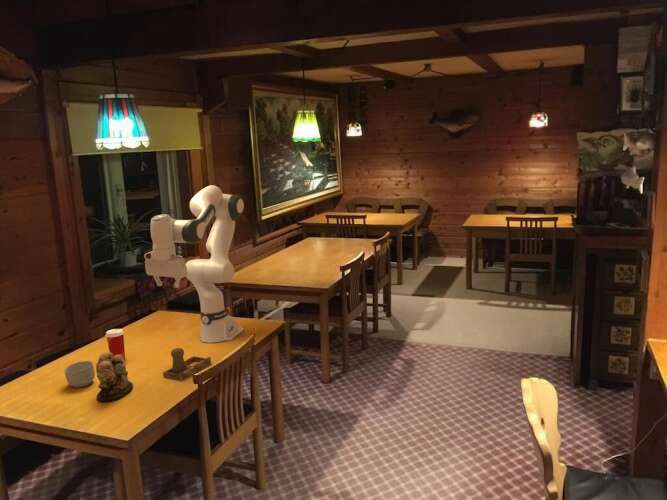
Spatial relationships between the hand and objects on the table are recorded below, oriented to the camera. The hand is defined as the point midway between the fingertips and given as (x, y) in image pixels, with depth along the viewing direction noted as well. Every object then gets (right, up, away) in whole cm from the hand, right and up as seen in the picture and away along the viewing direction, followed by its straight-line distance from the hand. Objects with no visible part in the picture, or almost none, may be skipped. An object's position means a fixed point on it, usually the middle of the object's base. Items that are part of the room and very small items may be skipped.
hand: (168, 286), depth 234 cm
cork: (+5, -36, -2) cm, 37 cm away
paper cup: (-27, -34, +15) cm, 46 cm away
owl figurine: (-16, -40, -17) cm, 47 cm away
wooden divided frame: (+8, -35, +1) cm, 36 cm away
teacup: (-33, -39, -6) cm, 52 cm away
